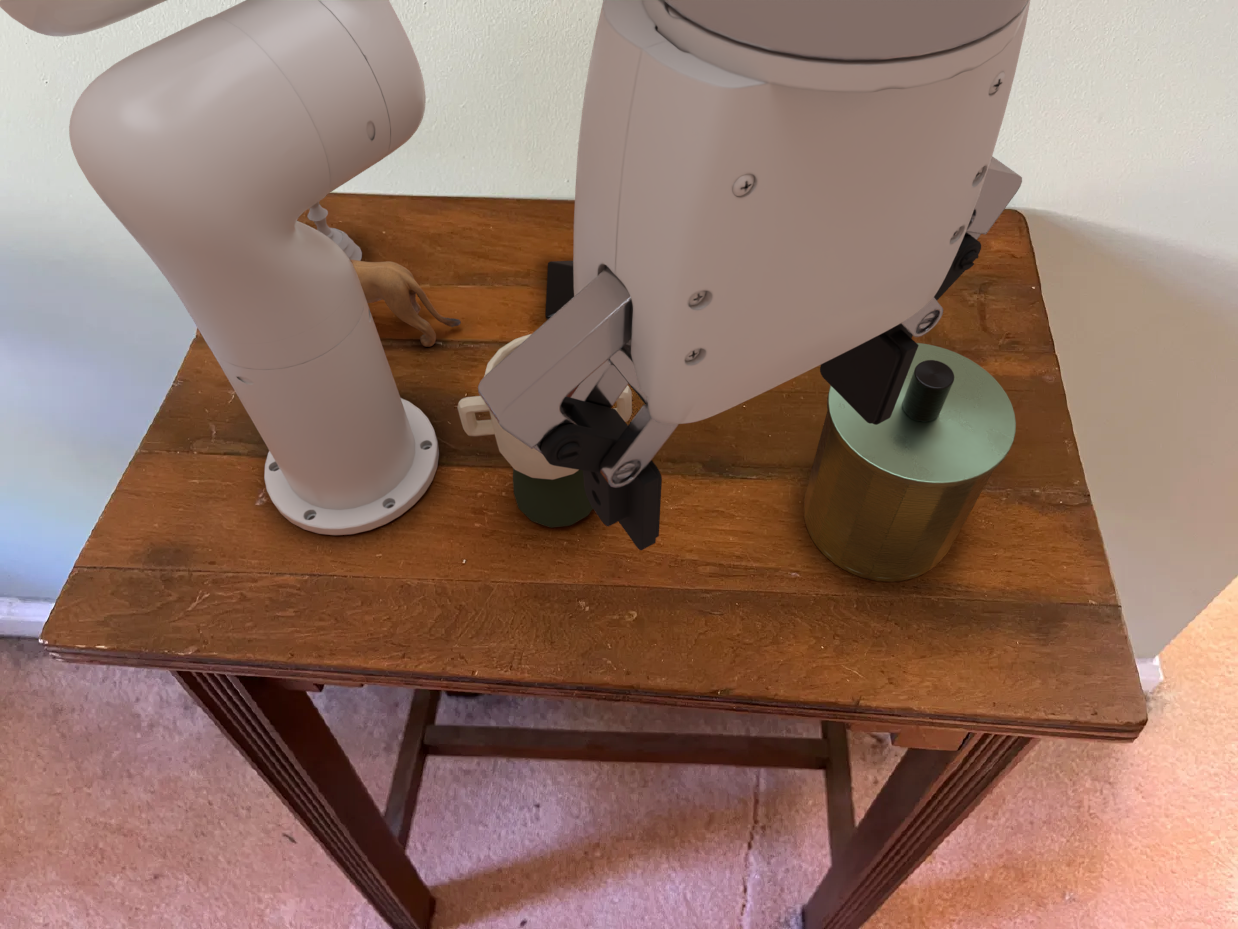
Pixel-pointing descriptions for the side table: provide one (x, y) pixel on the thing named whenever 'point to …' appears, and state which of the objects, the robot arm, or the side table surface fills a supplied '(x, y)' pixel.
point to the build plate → (559, 286)
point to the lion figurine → (399, 295)
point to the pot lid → (933, 424)
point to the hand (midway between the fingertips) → (743, 452)
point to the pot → (880, 515)
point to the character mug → (535, 461)
